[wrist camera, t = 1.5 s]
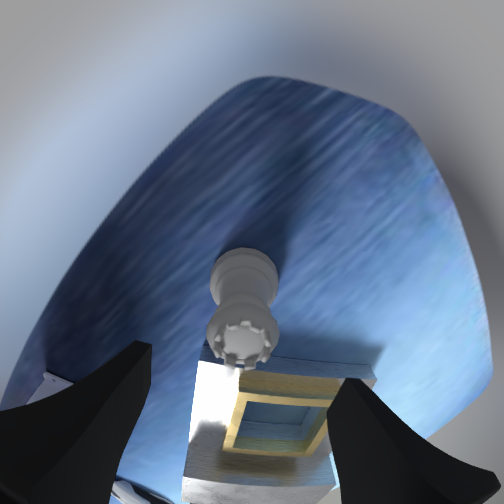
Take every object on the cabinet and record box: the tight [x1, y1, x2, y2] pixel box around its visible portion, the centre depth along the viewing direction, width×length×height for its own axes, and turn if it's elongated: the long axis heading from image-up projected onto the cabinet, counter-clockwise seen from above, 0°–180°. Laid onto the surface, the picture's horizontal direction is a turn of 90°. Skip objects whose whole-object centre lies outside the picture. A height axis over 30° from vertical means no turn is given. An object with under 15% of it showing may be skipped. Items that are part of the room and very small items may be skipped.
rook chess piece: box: [206, 247, 280, 371], centre depth 15 cm, size 4×4×8 cm
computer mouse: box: [111, 480, 173, 504], centre depth 28 cm, size 10×18×4 cm, turn 48°
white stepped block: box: [181, 345, 377, 504], centre depth 21 cm, size 14×18×6 cm
